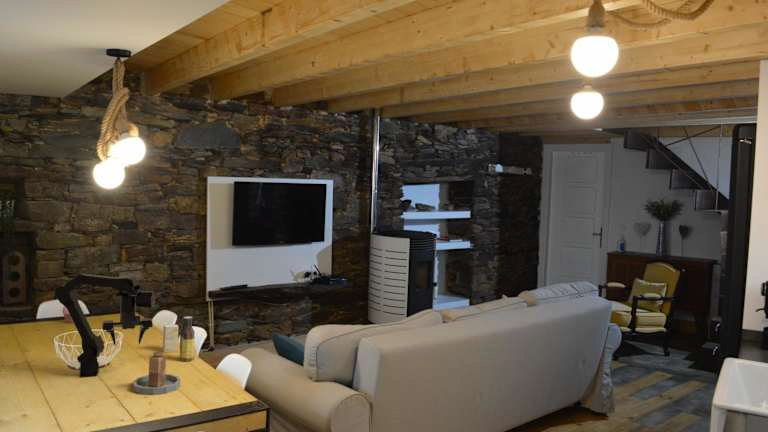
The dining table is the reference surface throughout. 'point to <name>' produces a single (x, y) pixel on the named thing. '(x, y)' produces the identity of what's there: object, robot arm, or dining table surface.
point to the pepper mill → (157, 370)
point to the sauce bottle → (187, 340)
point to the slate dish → (143, 387)
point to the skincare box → (170, 338)
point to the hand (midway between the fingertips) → (127, 344)
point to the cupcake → (67, 315)
